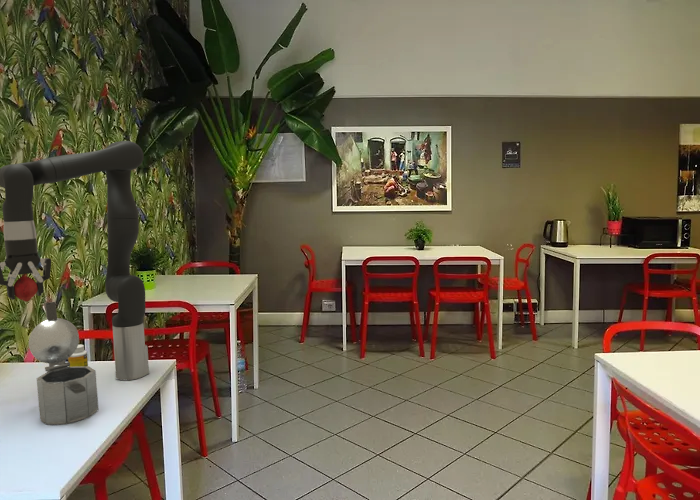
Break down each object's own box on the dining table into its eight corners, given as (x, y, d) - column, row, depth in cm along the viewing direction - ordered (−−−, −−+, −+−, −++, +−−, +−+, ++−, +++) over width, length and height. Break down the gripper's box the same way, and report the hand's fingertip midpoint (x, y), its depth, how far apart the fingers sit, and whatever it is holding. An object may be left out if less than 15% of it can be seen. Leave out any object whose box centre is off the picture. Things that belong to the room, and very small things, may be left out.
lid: (82, 363, 150) (79, 362, 151) (74, 298, 149) (72, 298, 151) (33, 374, 141) (31, 373, 142) (25, 306, 140) (22, 306, 142)
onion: (27, 304, 143) (24, 275, 142) (9, 303, 144) (6, 275, 143) (43, 299, 149) (40, 271, 148) (26, 299, 150) (23, 271, 149)
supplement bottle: (87, 378, 169) (85, 347, 168) (68, 380, 167) (65, 349, 166) (89, 372, 174) (87, 342, 173) (70, 375, 172) (68, 344, 171)
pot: (85, 398, 152) (82, 361, 151) (110, 416, 140) (107, 376, 138) (32, 413, 143) (29, 374, 141) (54, 434, 130) (50, 391, 129)
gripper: (45, 234, 152) (50, 291, 154) (-14, 239, 142) (-8, 299, 144) (53, 236, 147) (58, 295, 149) (-8, 240, 137) (-1, 303, 139)
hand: (26, 297), depth 147 cm, fingers closed on onion, 6 cm apart
